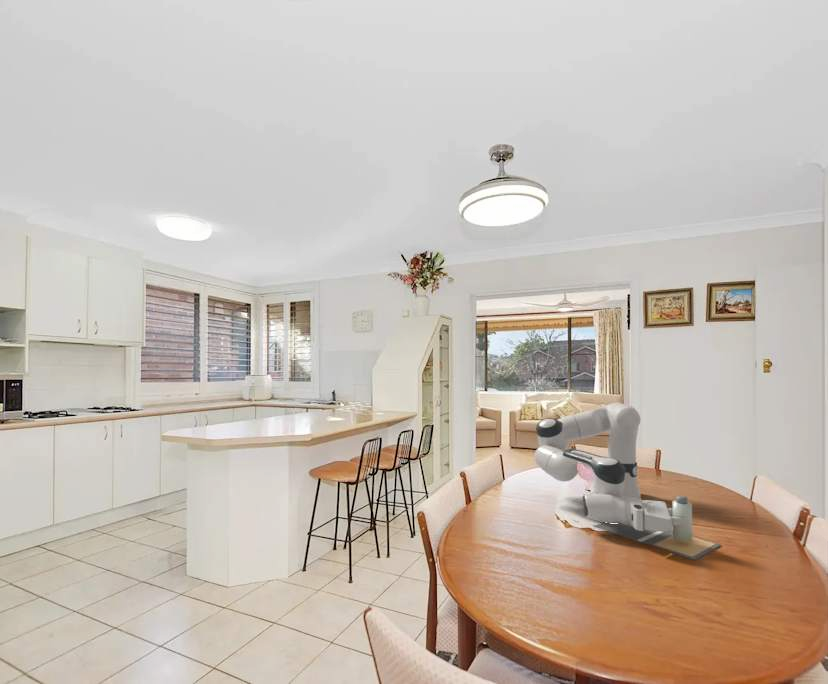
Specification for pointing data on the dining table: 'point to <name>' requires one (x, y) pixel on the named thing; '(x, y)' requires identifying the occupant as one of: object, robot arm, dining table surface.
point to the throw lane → (663, 540)
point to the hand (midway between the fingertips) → (685, 518)
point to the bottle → (683, 510)
